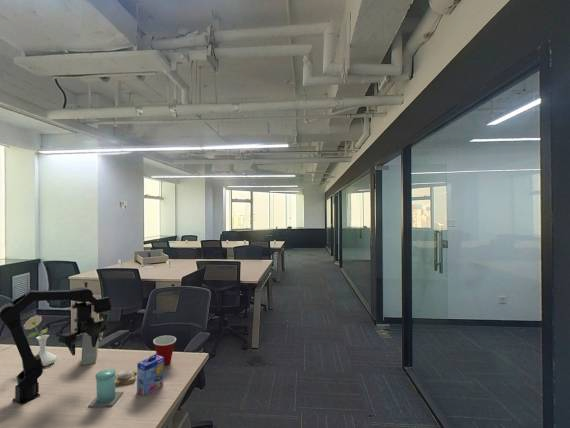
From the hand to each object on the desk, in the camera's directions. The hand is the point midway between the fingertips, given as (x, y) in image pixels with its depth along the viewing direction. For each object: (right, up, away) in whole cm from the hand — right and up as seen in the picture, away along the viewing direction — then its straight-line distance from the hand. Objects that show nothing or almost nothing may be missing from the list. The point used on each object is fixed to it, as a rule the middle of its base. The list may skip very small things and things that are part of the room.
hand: (83, 351), depth 138 cm
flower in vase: (-31, -14, +14) cm, 37 cm away
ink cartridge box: (+33, -13, -7) cm, 36 cm away
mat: (+19, -13, -15) cm, 27 cm away
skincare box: (-9, -14, +18) cm, 24 cm away
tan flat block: (+18, -13, 0) cm, 23 cm away
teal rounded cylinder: (+19, -12, -15) cm, 27 cm away
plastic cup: (+30, -13, +16) cm, 37 cm away
